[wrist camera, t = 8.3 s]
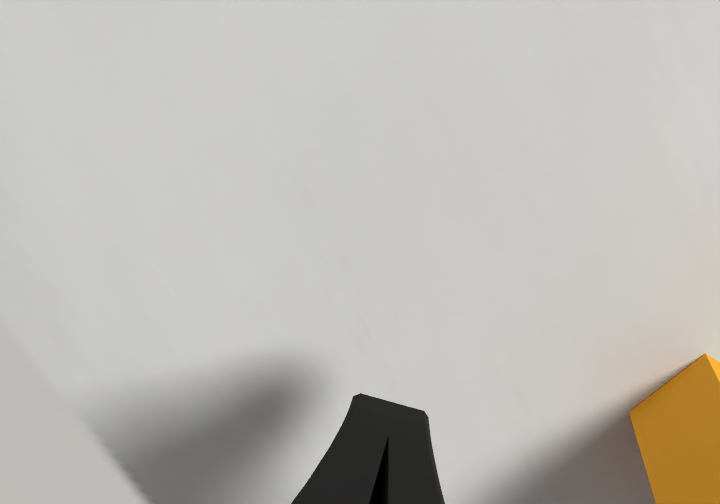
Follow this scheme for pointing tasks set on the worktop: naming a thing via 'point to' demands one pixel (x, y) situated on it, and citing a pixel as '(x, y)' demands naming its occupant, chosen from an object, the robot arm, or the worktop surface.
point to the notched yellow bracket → (683, 436)
